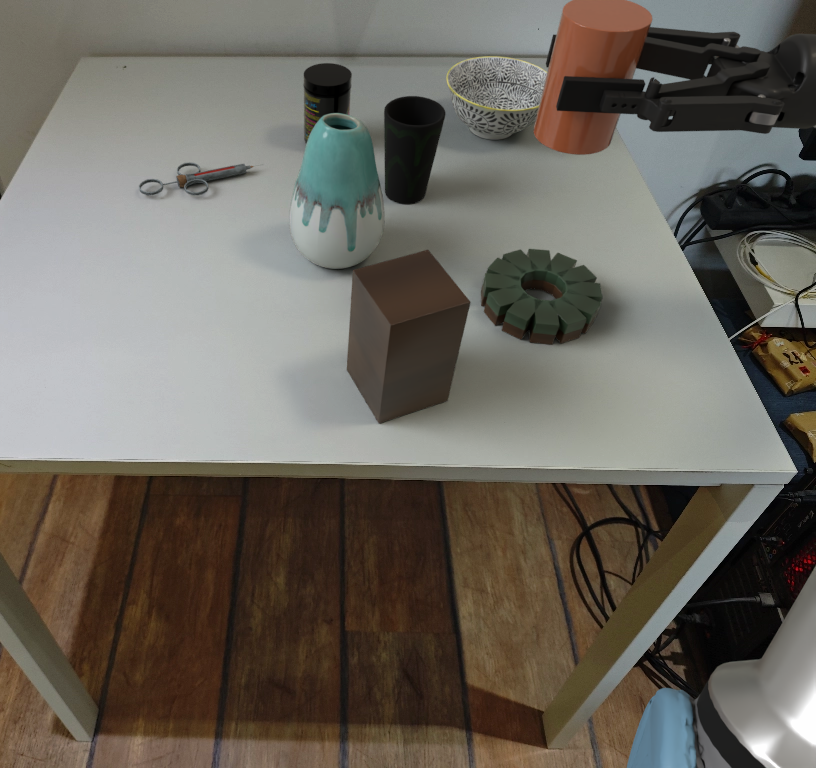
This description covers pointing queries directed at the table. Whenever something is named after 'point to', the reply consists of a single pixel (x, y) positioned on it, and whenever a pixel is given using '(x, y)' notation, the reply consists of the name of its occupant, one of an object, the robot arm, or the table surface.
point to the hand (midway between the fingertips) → (555, 71)
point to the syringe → (198, 177)
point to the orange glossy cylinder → (589, 69)
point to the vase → (337, 195)
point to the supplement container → (325, 93)
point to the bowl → (496, 94)
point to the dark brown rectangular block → (404, 334)
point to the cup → (410, 146)
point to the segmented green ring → (528, 313)
